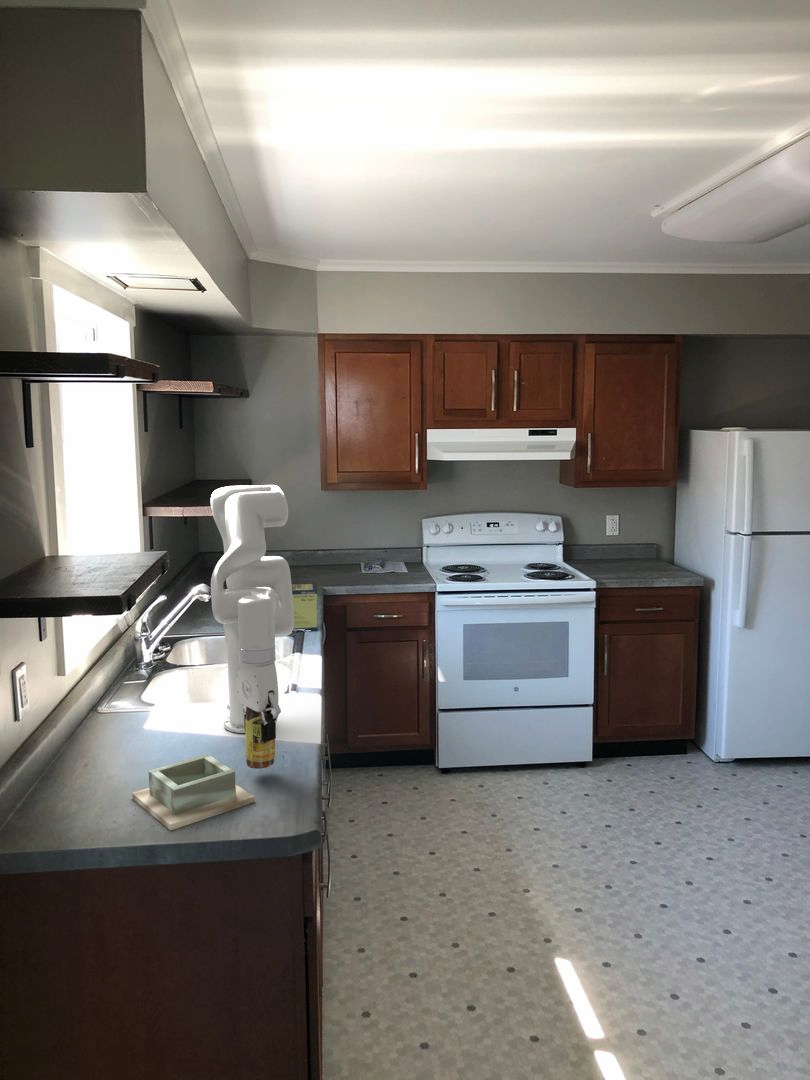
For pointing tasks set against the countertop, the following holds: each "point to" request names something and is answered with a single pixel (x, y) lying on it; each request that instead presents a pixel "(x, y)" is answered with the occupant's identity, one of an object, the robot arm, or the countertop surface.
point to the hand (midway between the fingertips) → (260, 734)
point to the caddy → (191, 792)
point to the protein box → (305, 606)
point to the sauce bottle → (257, 742)
